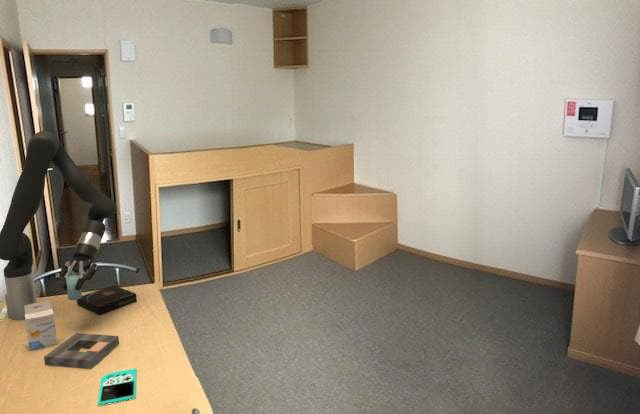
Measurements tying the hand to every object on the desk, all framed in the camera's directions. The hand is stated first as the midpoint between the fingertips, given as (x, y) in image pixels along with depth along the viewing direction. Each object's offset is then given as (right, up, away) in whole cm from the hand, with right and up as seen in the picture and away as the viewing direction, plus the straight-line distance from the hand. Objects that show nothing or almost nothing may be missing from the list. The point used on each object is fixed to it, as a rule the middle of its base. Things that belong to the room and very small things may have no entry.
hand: (70, 289), depth 170 cm
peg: (0, -4, +3) cm, 5 cm away
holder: (+10, -20, -11) cm, 25 cm away
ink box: (-7, -19, -4) cm, 20 cm away
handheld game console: (+29, -25, -29) cm, 48 cm away
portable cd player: (0, -12, +29) cm, 32 cm away
